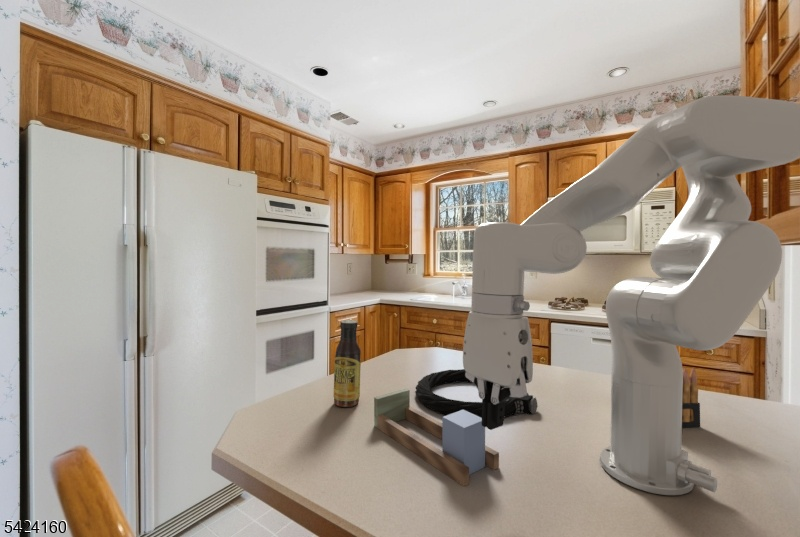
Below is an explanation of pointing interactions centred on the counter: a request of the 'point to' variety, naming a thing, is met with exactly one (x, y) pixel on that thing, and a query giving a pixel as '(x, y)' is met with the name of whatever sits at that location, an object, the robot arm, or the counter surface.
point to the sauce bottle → (347, 367)
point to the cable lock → (452, 406)
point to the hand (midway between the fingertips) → (492, 425)
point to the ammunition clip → (690, 401)
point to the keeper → (464, 439)
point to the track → (398, 409)
